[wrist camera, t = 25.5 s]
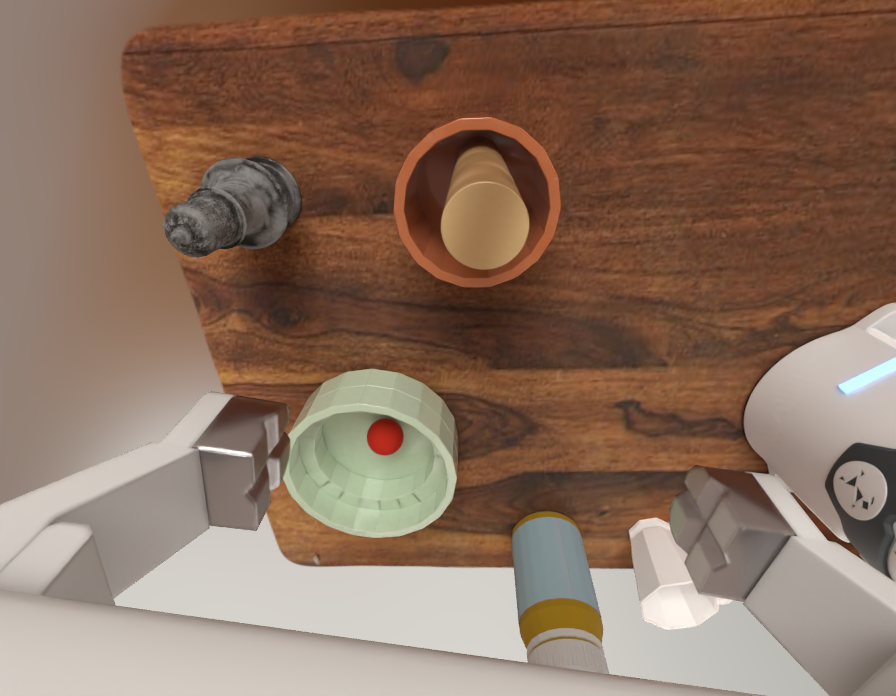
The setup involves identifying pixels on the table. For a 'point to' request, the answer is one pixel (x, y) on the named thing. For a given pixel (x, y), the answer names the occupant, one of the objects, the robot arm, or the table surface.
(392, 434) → the ball
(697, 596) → the cup
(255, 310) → the table surface
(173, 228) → the grey chess piece
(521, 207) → the stick
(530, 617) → the bottle
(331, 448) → the bowl
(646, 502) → the table surface
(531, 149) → the crock
